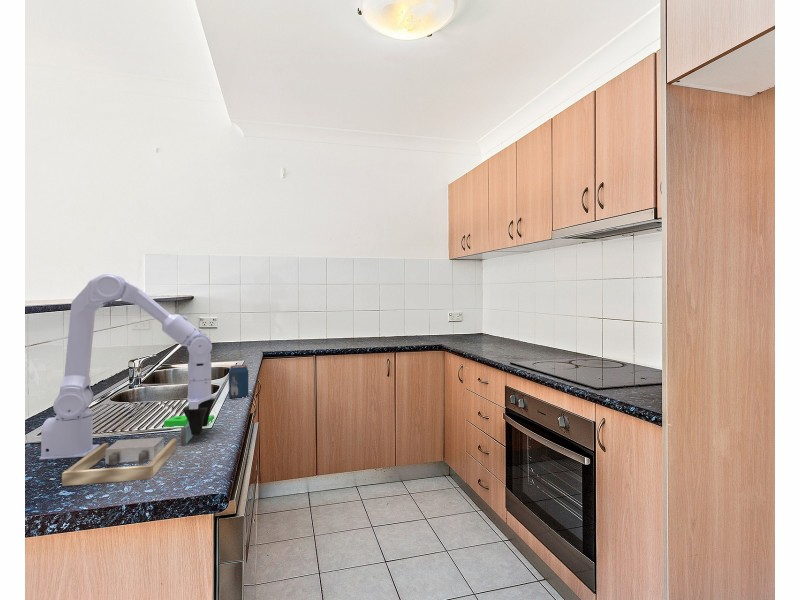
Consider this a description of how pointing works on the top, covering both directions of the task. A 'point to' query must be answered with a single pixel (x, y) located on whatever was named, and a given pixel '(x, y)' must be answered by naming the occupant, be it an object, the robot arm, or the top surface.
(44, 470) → the top surface
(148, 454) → the block
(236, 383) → the dark blue carton
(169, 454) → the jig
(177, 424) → the mechanical part
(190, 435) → the bar
